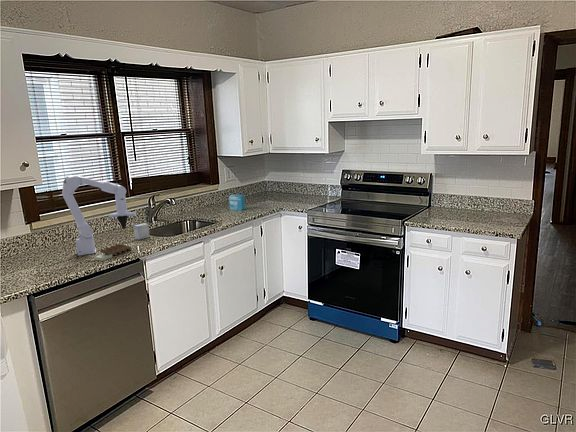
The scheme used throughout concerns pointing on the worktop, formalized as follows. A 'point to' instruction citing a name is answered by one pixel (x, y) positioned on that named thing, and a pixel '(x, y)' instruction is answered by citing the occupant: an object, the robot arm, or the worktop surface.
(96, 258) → the tile
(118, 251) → the tile
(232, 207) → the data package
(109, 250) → the tile
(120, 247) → the tile
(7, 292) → the worktop surface
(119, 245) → the head tile
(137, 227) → the medicine box
